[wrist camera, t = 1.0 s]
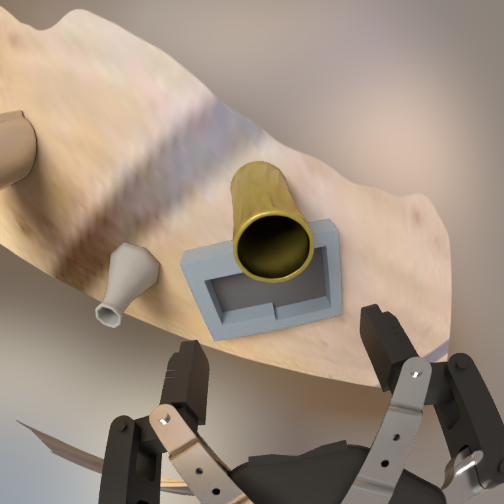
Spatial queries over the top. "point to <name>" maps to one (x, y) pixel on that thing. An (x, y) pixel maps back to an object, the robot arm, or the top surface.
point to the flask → (126, 281)
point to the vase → (268, 225)
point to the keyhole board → (264, 289)
